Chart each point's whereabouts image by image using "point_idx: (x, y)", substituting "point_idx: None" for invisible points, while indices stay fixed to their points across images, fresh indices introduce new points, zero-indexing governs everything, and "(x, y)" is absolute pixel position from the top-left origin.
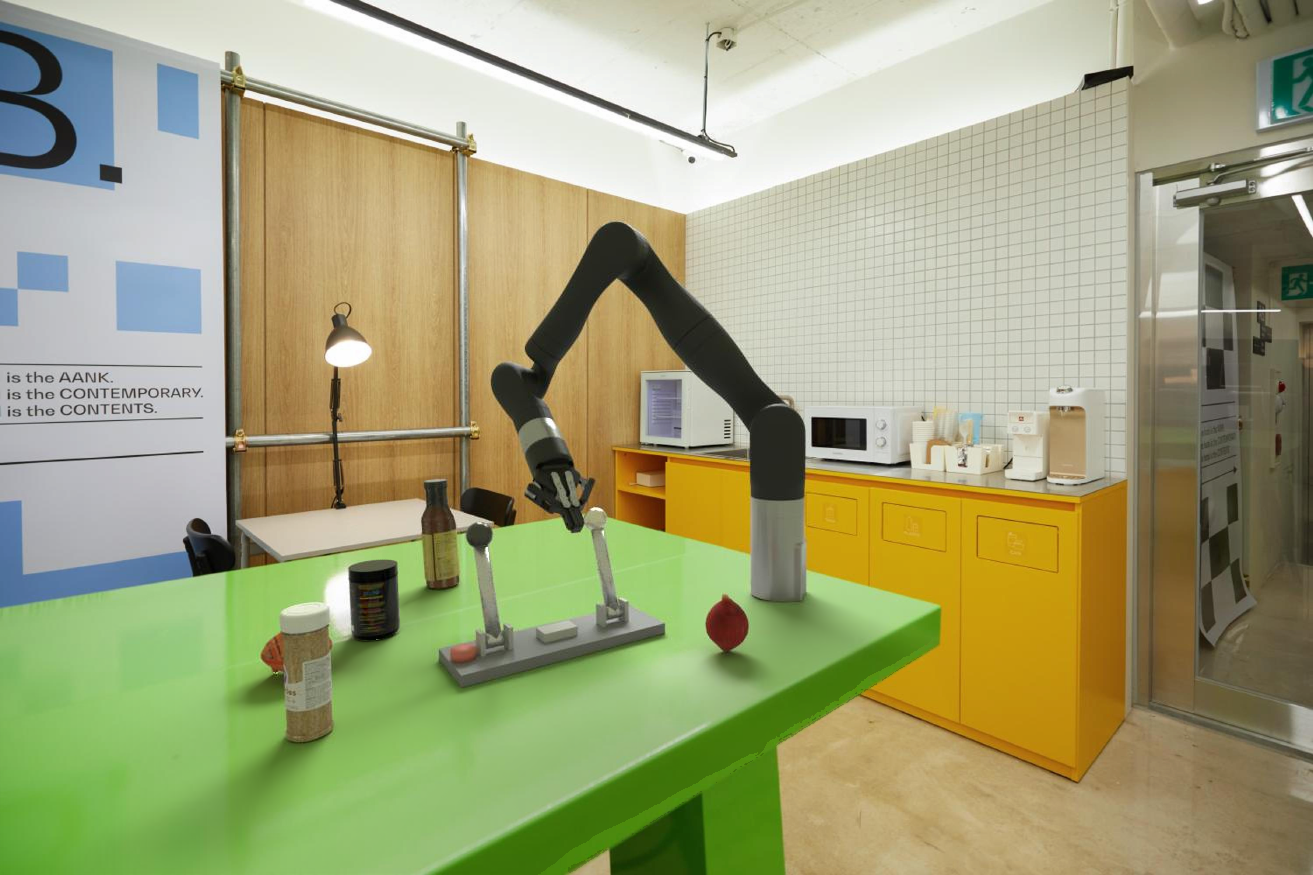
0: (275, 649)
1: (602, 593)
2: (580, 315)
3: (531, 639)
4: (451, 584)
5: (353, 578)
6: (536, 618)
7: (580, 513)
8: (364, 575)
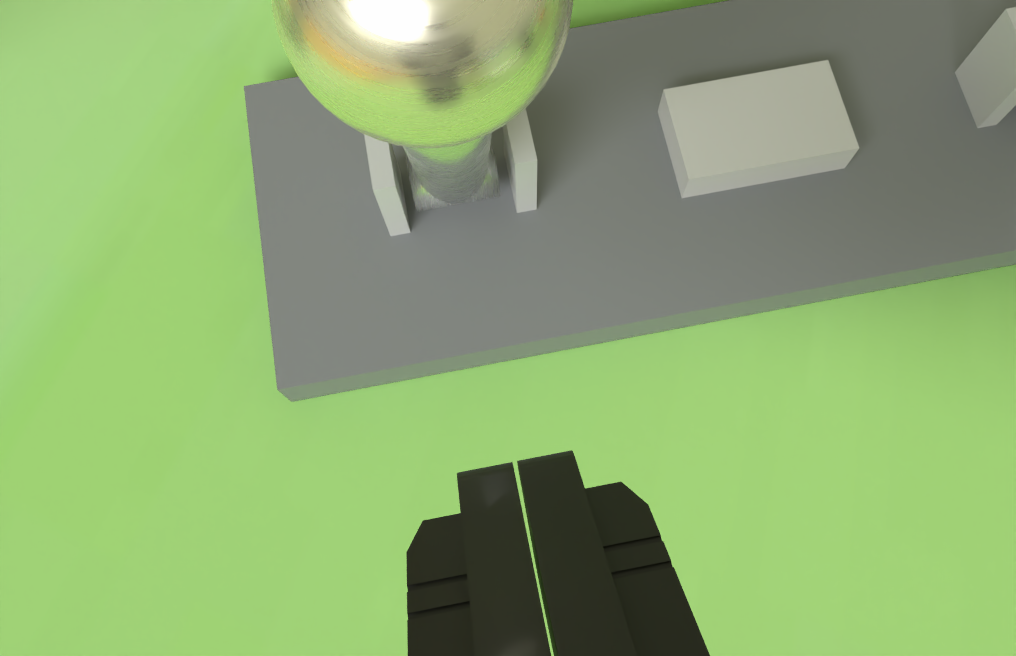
0: None
1: (488, 159)
2: None
3: (869, 140)
4: None
5: None
6: (782, 557)
7: (428, 650)
8: None
